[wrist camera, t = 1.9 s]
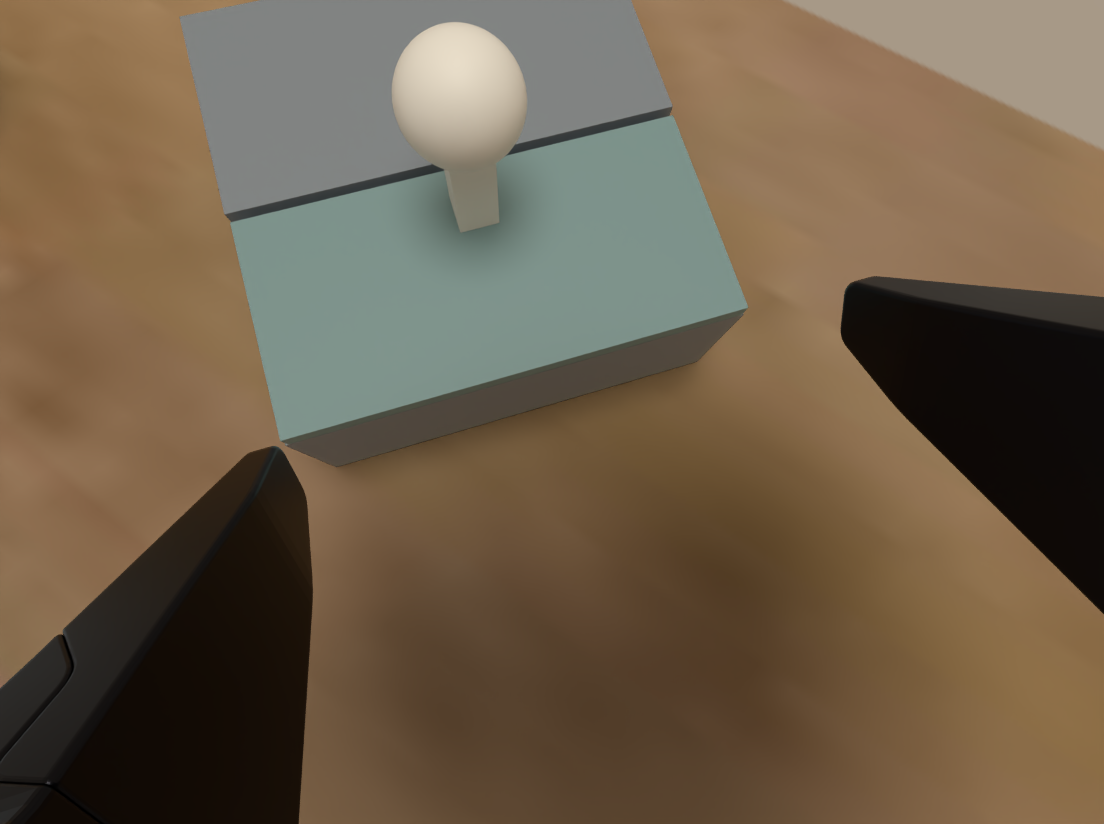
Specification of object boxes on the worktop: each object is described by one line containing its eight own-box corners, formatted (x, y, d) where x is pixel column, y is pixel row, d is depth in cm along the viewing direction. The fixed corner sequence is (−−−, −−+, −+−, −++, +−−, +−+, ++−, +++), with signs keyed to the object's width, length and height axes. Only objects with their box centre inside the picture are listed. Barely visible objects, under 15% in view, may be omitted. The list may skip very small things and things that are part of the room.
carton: (697, 361, 24) (751, 306, 18) (336, 467, 22) (276, 441, 17) (585, 59, 26) (603, -70, 21) (254, 134, 25) (179, 17, 19)
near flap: (741, 315, 19) (861, 192, 12) (288, 444, 17) (147, 383, 11) (668, 127, 20) (742, -76, 13) (239, 232, 18) (85, 60, 12)
